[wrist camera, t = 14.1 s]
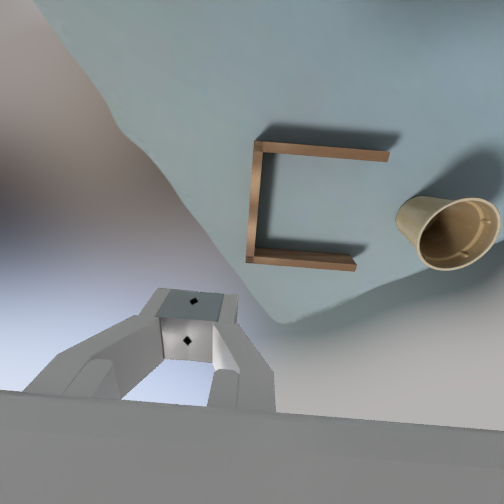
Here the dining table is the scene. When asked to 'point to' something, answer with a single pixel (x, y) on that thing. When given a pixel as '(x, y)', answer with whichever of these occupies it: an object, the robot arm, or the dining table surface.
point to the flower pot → (449, 229)
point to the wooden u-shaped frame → (252, 252)
